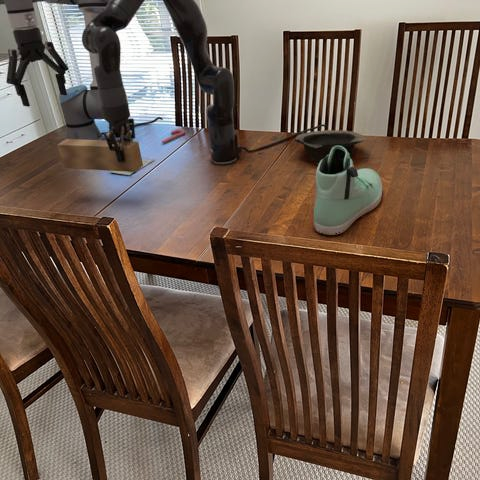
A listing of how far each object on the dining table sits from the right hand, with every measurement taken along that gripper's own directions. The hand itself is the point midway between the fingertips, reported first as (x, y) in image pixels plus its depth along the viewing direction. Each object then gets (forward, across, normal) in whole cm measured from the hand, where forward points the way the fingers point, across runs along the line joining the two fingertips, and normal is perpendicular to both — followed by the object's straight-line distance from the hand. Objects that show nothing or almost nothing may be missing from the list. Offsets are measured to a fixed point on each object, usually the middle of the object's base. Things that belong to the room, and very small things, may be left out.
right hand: (126, 158), depth 145 cm
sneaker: (+15, +6, -66) cm, 68 cm away
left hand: (-15, +9, +30) cm, 35 cm away
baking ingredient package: (+15, +26, +15) cm, 34 cm away
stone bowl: (+16, +45, -55) cm, 73 cm away
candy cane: (+15, +58, +12) cm, 61 cm away
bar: (+3, 0, +9) cm, 9 cm away
